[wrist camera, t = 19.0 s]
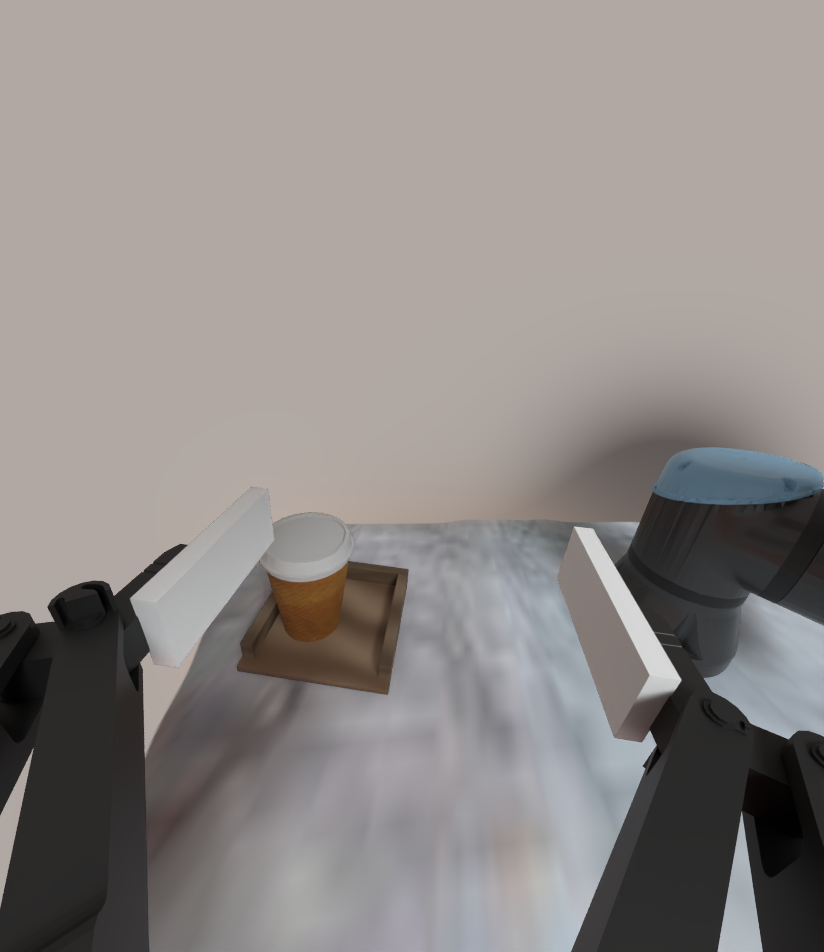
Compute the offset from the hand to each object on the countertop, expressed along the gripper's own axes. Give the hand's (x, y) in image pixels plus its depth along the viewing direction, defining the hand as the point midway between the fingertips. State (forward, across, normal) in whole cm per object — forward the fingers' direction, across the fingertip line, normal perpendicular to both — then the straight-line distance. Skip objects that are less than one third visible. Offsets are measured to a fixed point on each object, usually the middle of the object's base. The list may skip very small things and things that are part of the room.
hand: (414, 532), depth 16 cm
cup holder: (+17, -9, -26) cm, 32 cm away
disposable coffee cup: (+16, -12, -26) cm, 32 cm away
